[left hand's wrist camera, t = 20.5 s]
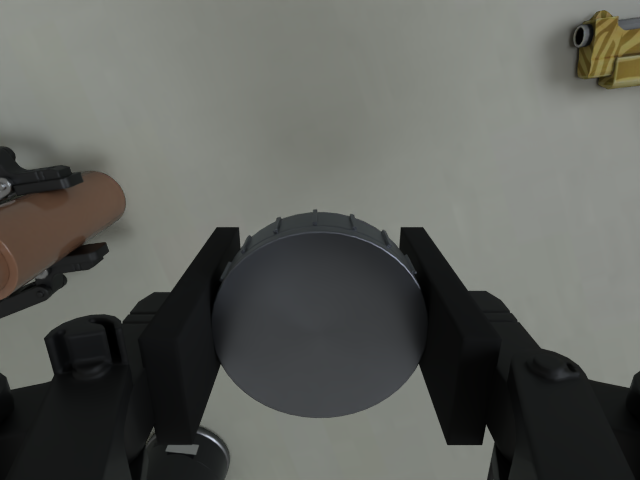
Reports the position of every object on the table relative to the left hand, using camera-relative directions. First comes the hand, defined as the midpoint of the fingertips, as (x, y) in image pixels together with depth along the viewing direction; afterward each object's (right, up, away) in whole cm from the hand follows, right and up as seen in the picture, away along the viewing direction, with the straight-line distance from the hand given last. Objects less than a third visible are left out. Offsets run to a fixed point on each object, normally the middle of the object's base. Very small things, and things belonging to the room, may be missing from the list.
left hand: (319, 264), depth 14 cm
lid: (0, -1, -4) cm, 4 cm away
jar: (-19, +4, +21) cm, 29 cm away
